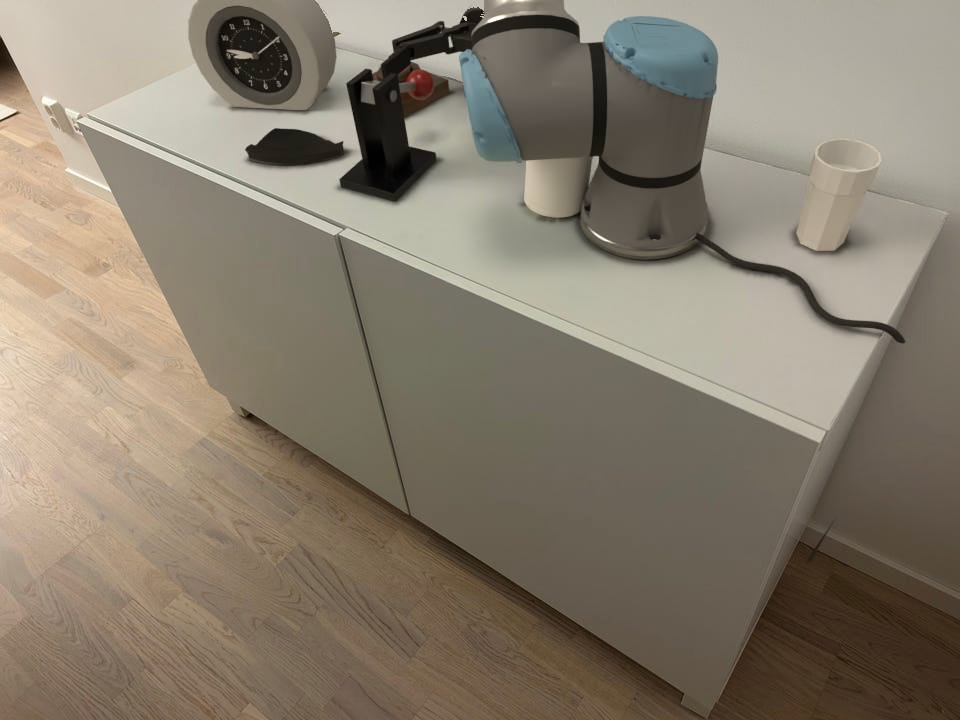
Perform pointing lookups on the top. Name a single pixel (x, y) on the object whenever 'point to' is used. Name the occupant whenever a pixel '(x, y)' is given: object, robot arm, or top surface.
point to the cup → (835, 191)
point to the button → (405, 72)
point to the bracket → (383, 142)
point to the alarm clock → (263, 51)
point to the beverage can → (557, 185)
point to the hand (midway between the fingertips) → (424, 81)
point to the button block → (411, 103)
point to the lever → (404, 86)
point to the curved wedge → (293, 148)
